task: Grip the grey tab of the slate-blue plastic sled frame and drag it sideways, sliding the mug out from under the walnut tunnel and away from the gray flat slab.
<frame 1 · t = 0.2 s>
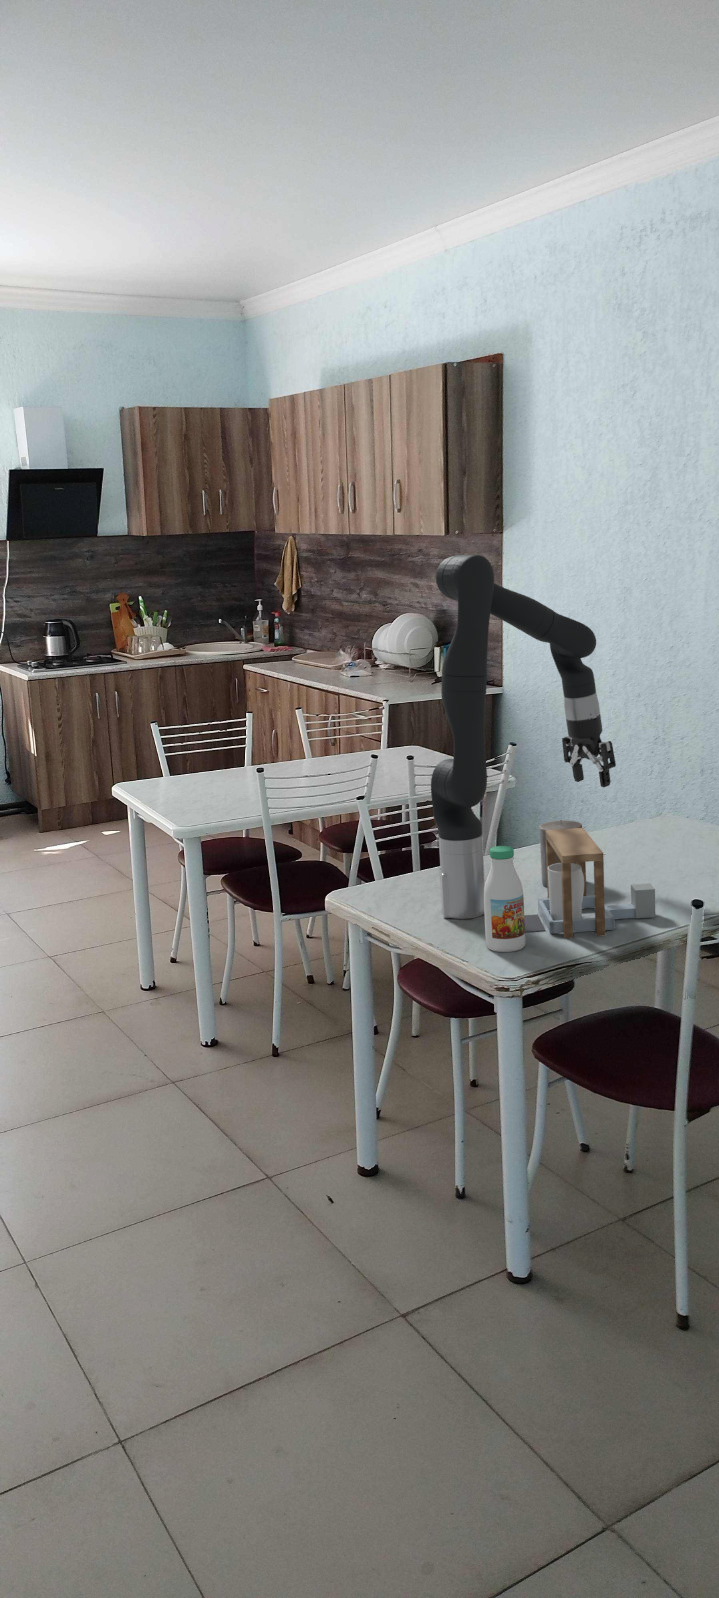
hand: (592, 783, 262), 23 cm above the table, tool pointing down, fingers open, 8 cm apart
mug: (570, 922, 241), resting in sled
pillar candle: (562, 884, 266), on the table
tunnel: (575, 920, 241), on the table
sled: (598, 903, 240), point 3 cm above the table, slide at 0.0 cm
milk bottle: (505, 947, 229), on the table
gray flat slab: (527, 924, 241), on the table
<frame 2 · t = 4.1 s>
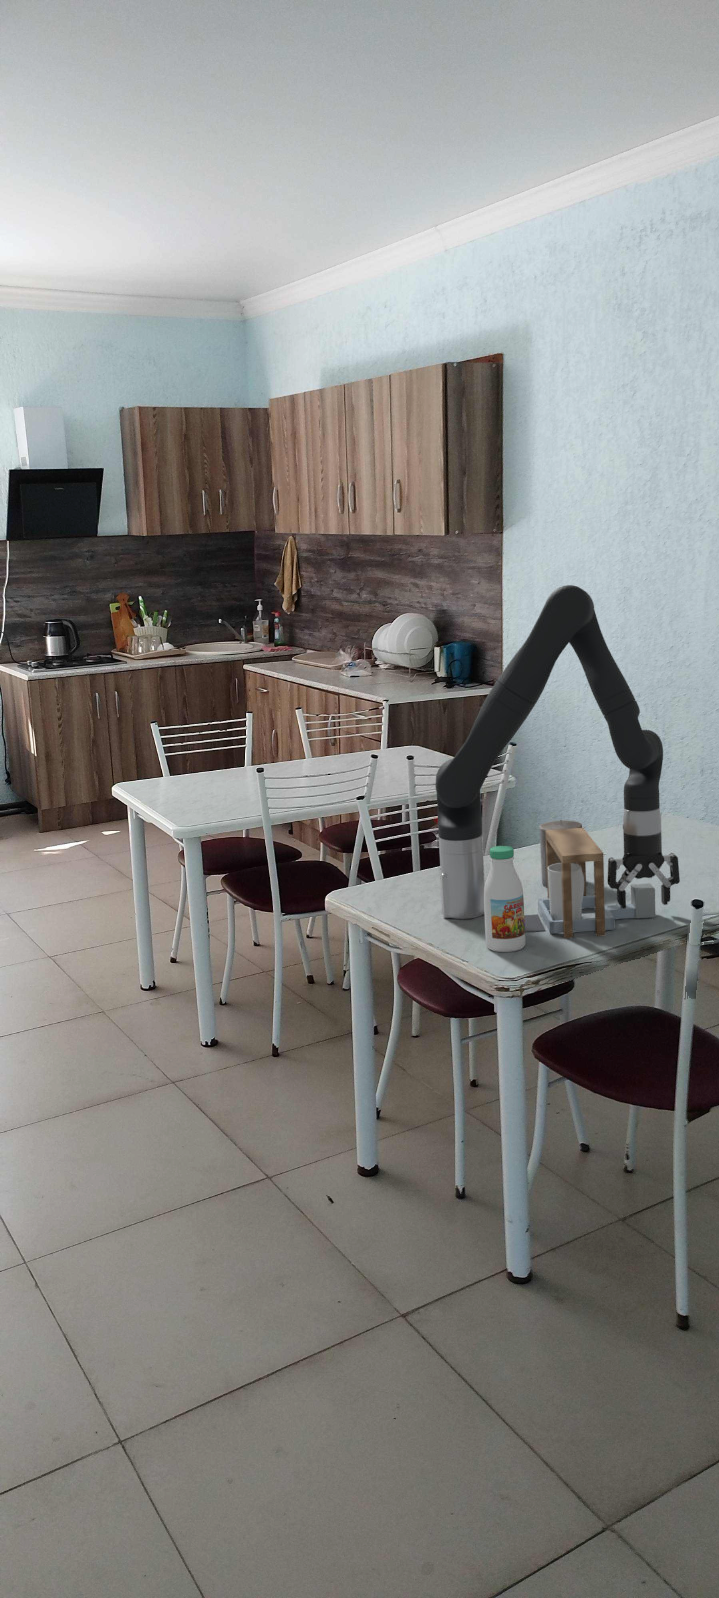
hand: (643, 905, 240), 2 cm above the table, tool pointing down, fingers open, 8 cm apart
sled: (598, 903, 240), point 3 cm above the table, slide at 0.0 cm, touching gripper
everything else where it was.
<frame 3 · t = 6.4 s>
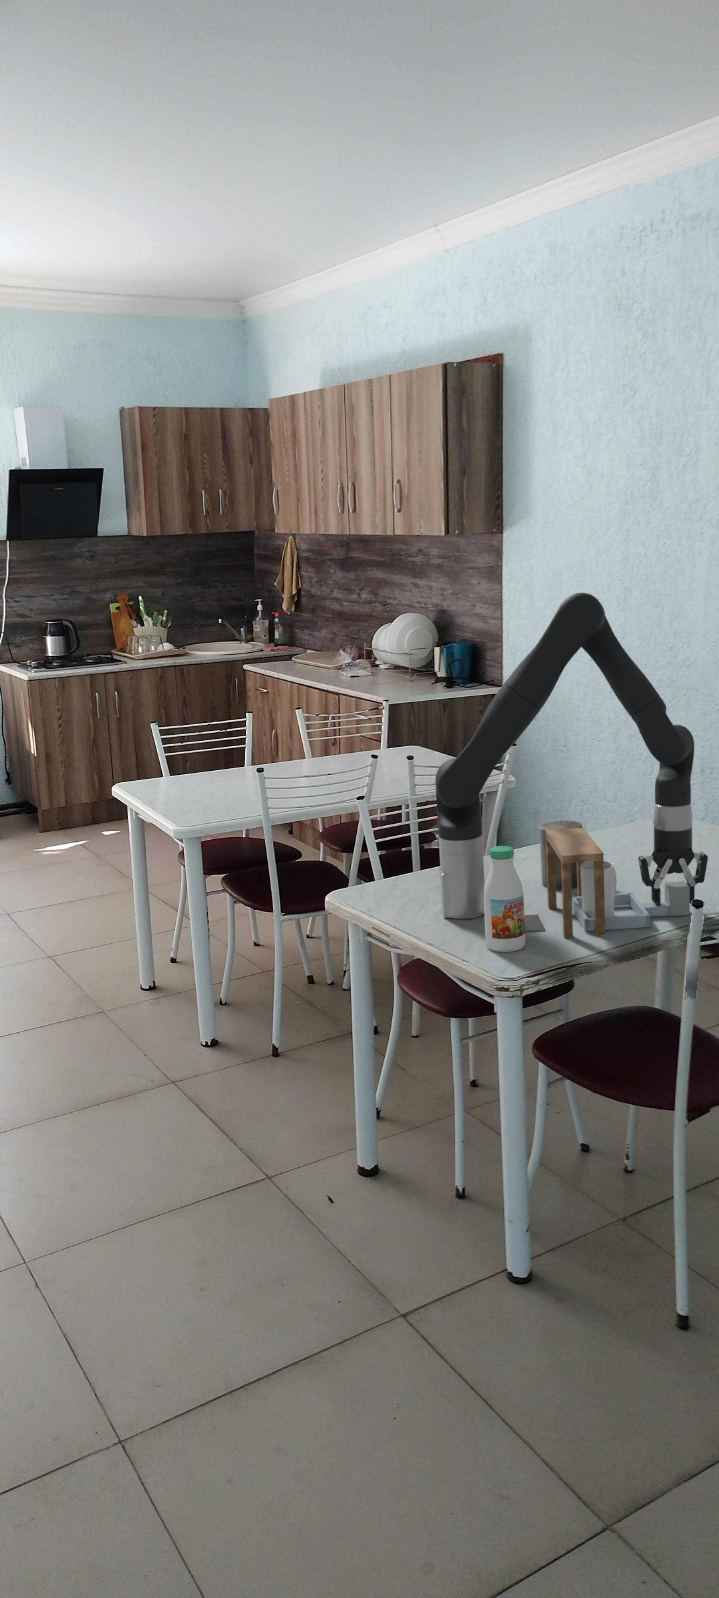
hand: (673, 903, 240), 2 cm above the table, tool pointing down, fingers closed on sled, 5 cm apart
mug: (602, 919, 241), resting in sled
sled: (632, 901, 240), point 3 cm above the table, slide at 7.0 cm, touching gripper, mug
everything else where it was.
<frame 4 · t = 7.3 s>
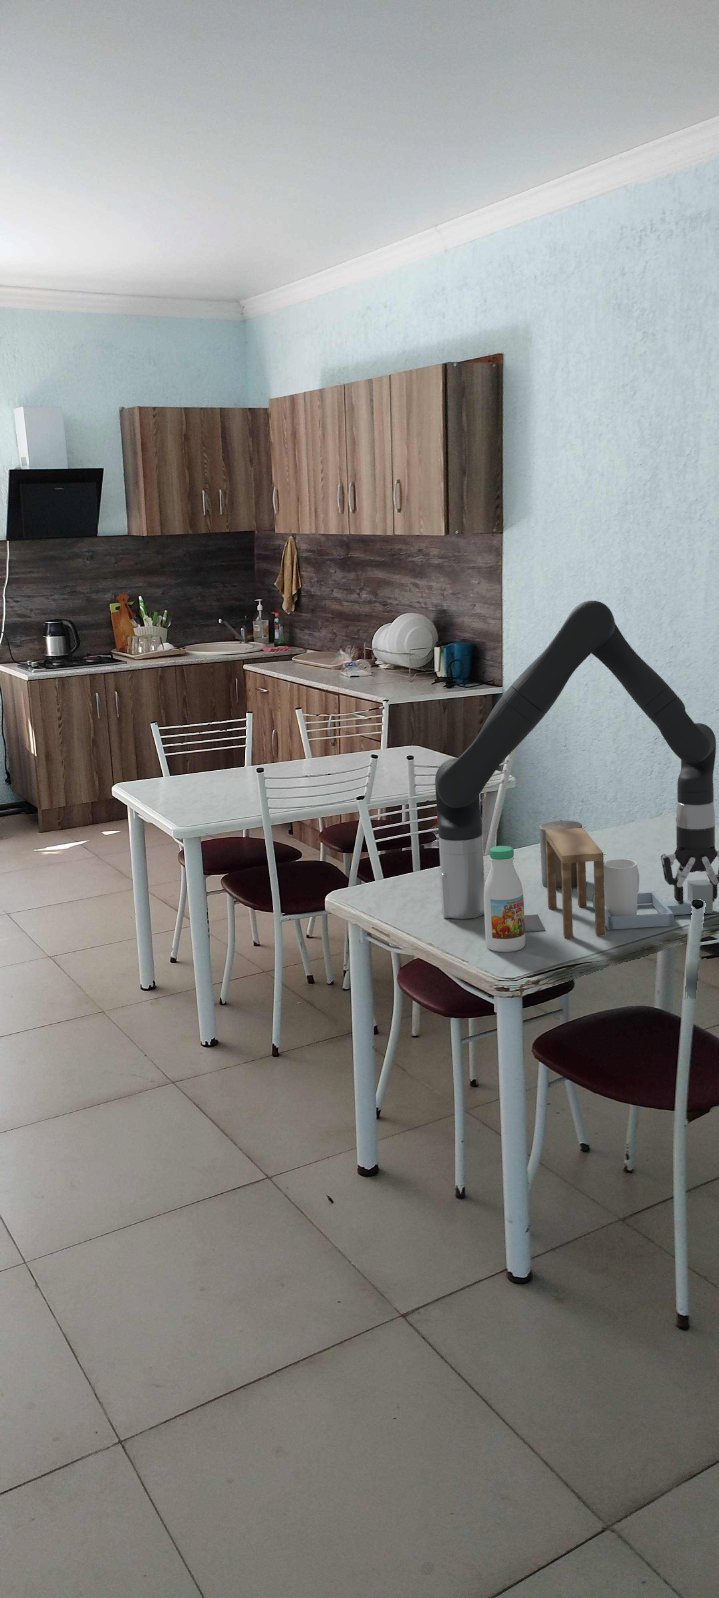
hand: (695, 901, 240), 2 cm above the table, tool pointing down, fingers closed on sled, 5 cm apart
mug: (625, 918, 241), resting in sled
sled: (655, 900, 240), point 3 cm above the table, slide at 11.7 cm, touching gripper, mug
everything else where it was.
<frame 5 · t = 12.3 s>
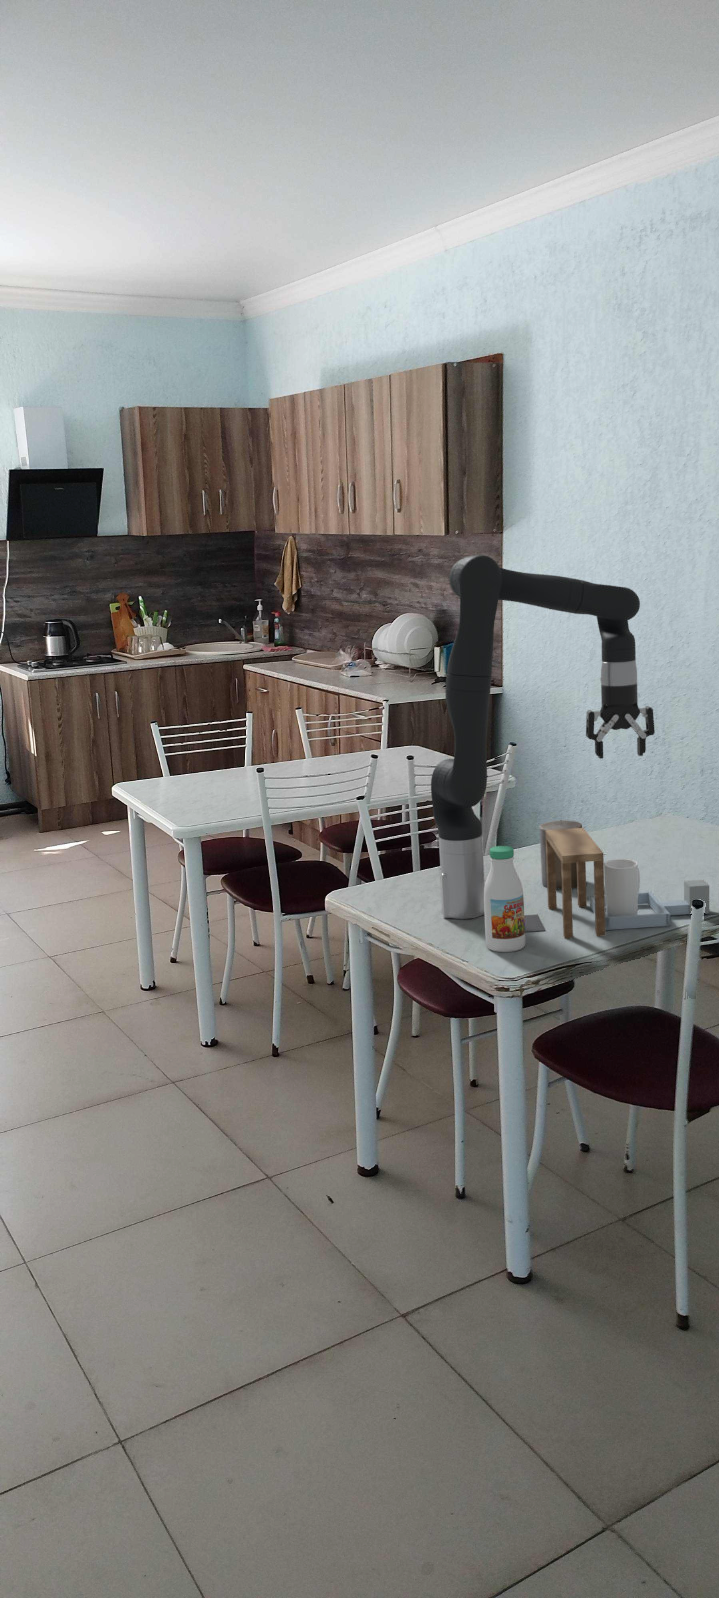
hand: (620, 756, 252), 30 cm above the table, tool pointing down, fingers open, 8 cm apart
mug: (626, 918, 241), resting in sled
sled: (651, 900, 240), point 3 cm above the table, slide at 11.0 cm
everything else where it was.
at the end: sled slide at 11.0 cm; mug inside the target area (0.1 cm from its centre), resting in sled; mug tilted 0° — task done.
